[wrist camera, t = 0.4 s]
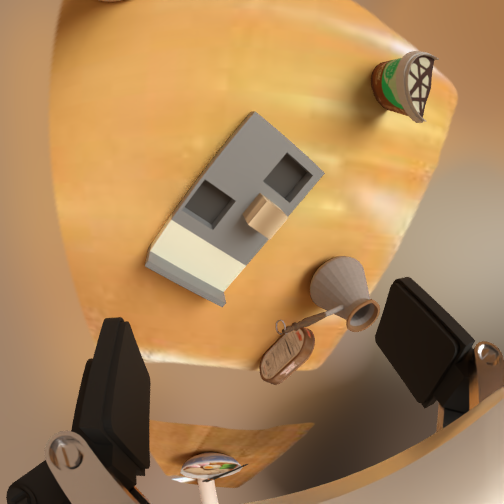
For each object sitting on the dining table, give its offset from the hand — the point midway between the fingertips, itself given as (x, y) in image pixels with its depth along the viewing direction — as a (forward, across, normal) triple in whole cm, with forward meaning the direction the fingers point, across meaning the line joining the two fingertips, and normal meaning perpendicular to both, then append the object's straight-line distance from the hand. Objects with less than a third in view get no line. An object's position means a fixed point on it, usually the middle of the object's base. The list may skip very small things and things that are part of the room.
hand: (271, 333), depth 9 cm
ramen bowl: (+37, +11, +100) cm, 107 cm away
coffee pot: (+35, -17, +22) cm, 45 cm away
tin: (+36, -12, +38) cm, 54 cm away
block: (+32, -7, +7) cm, 34 cm away
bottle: (+38, +17, +135) cm, 141 cm away
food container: (+34, -28, -15) cm, 47 cm away
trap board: (+34, -3, +7) cm, 35 cm away
